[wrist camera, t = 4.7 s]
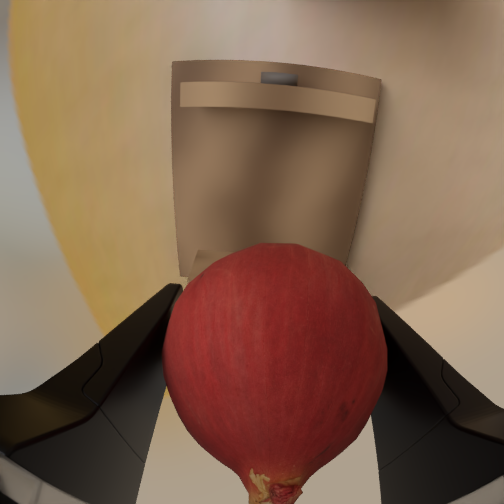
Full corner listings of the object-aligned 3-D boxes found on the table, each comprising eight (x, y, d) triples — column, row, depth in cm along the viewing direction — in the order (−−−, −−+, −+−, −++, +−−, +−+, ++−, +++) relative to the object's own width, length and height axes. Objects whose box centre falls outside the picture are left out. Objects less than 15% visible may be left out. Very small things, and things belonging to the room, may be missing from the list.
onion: (365, 303, 11) (416, 498, 5) (236, 341, 13) (218, 523, 6) (326, 170, 9) (450, 443, 2) (163, 233, 10) (59, 463, 3)
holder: (375, 79, 15) (406, 81, 11) (337, 279, 23) (348, 320, 19) (177, 62, 15) (150, 58, 11) (183, 268, 23) (168, 308, 19)
